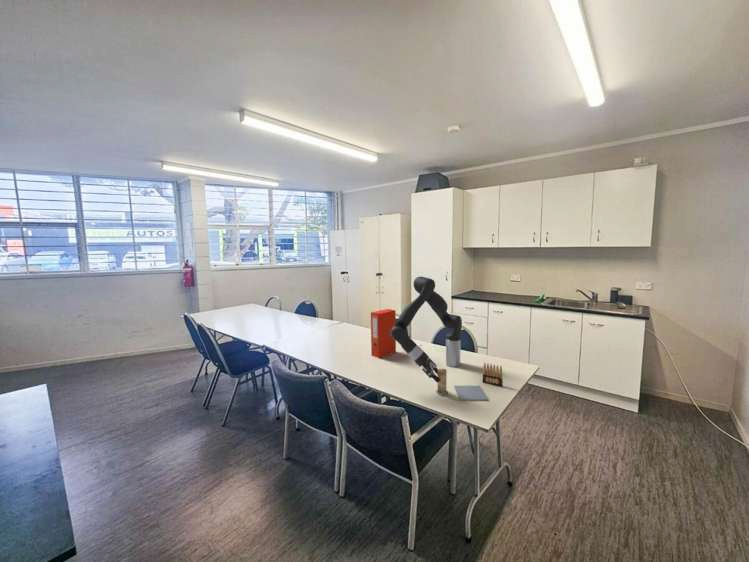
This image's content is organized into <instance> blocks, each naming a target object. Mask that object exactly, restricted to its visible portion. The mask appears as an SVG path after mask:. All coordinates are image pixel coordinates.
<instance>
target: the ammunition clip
mask: <svg viewBox="0 0 749 562" xmlns="http://www.w3.org/2000/svg"><path fill="white" fill-rule="evenodd" d="M502 367H503V366H502V365H500V366H499V365H498V364H497V365H496V364H494V363H493V365H492V363H490V364H489V363H488V362H487V364H486V362H484V363H483V369H482V383H483V384H486V385H491V386H495V387H499V388H502V387H503V385H504V384H503V368H502Z"/></svg>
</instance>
